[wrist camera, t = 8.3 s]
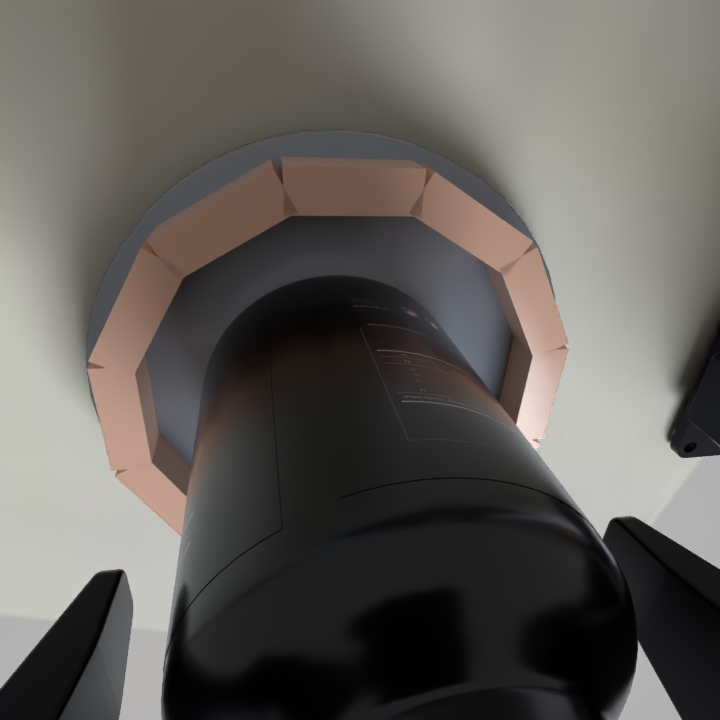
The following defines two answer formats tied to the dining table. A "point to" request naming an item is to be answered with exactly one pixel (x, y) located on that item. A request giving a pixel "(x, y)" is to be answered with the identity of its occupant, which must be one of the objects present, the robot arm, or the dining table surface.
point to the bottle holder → (301, 261)
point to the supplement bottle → (380, 534)
